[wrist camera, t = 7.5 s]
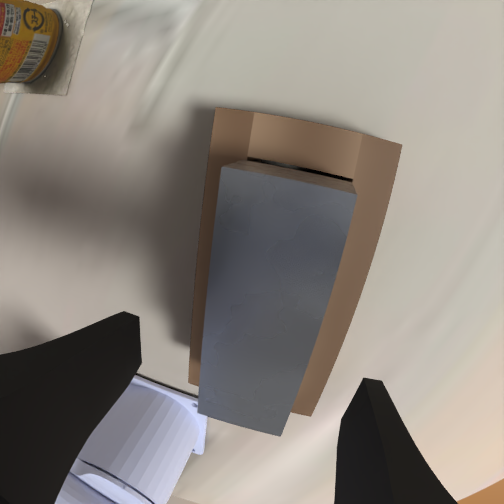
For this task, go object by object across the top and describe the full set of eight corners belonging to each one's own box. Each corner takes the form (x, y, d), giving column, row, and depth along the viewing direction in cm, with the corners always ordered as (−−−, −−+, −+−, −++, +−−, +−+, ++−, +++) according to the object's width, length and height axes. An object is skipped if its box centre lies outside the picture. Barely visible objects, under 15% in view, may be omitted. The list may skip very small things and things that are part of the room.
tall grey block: (234, 338, 19) (197, 413, 14) (264, 153, 15) (221, 166, 9) (297, 354, 19) (280, 436, 13) (346, 170, 14) (357, 194, 9)
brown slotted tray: (205, 353, 20) (188, 382, 18) (236, 111, 15) (215, 107, 12) (315, 382, 19) (310, 416, 16) (388, 142, 13) (402, 144, 11)
